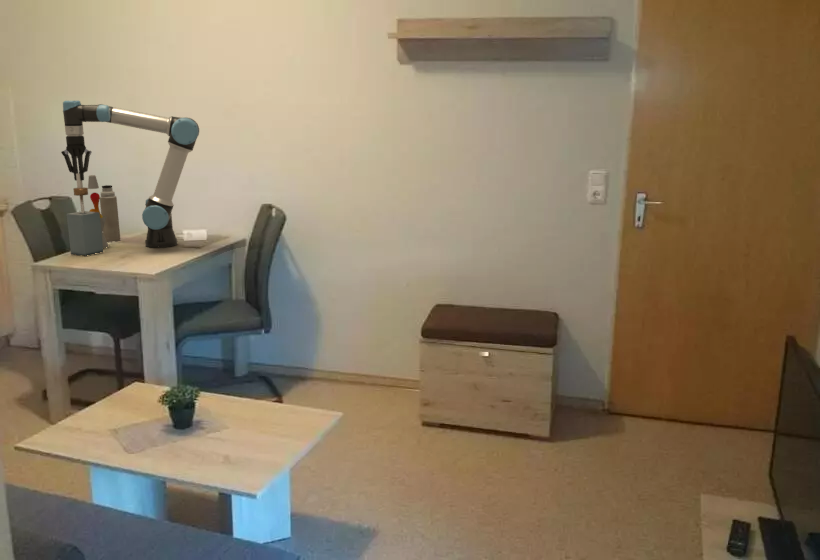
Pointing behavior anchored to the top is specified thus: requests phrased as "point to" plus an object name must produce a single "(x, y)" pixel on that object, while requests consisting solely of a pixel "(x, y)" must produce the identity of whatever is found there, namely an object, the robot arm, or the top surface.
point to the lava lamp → (97, 205)
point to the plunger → (81, 196)
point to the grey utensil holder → (85, 233)
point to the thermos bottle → (110, 214)
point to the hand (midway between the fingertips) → (80, 187)
